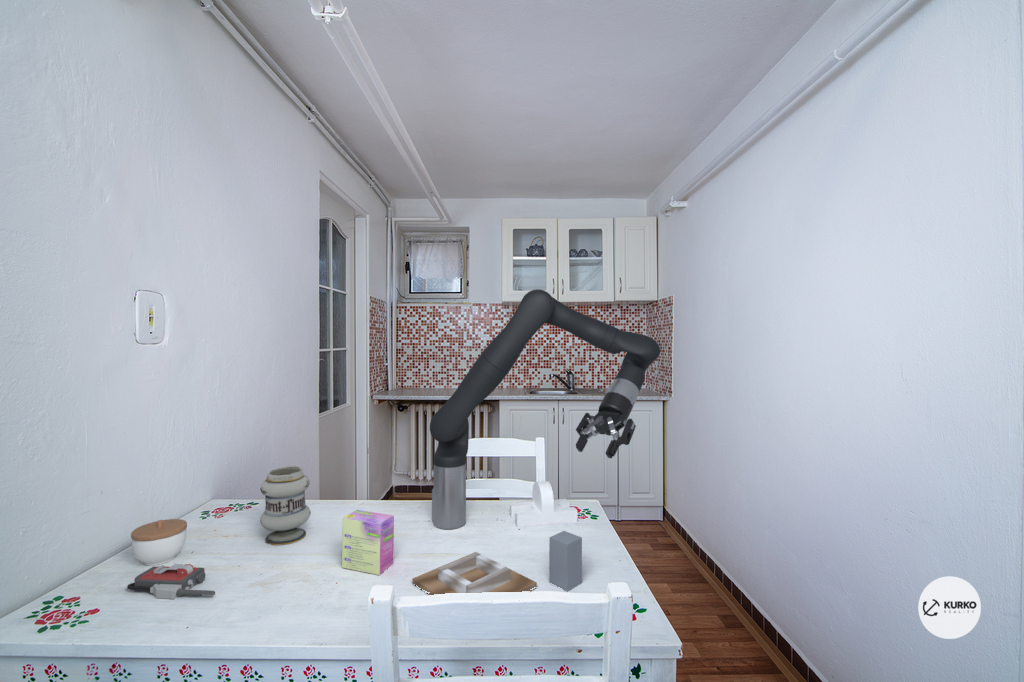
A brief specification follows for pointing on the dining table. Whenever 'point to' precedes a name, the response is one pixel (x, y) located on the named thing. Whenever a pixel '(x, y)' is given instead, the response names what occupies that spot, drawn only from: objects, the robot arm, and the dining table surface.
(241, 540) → the dining table surface
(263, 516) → the apothecary jar
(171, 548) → the lidded jar
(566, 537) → the gray rectangular block
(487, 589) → the pocket plate
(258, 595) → the dining table surface
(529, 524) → the white base with disc
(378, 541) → the box
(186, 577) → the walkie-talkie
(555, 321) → the robot arm
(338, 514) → the dining table surface
